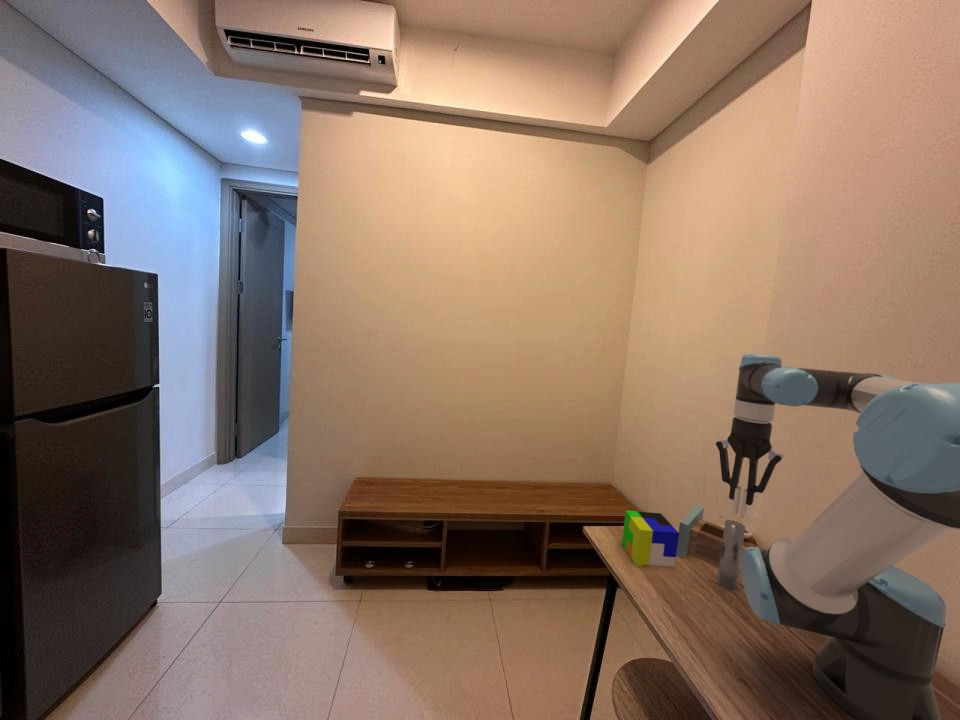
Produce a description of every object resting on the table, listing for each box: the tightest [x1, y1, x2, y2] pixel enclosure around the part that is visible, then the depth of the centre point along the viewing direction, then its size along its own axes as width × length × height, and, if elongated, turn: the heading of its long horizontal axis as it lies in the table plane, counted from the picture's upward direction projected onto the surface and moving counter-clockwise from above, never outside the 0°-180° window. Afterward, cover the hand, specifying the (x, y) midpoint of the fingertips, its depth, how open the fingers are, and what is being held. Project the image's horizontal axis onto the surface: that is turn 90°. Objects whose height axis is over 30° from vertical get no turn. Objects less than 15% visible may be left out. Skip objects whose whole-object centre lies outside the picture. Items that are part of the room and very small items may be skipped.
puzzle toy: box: [621, 510, 679, 568], centre depth 100 cm, size 10×10×10 cm
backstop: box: [676, 504, 705, 559], centre depth 100 cm, size 16×19×10 cm
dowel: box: [716, 519, 746, 591], centre depth 90 cm, size 4×4×16 cm
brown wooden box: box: [687, 519, 724, 568], centre depth 102 cm, size 9×9×7 cm
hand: (738, 514), depth 89 cm, fingers closed
